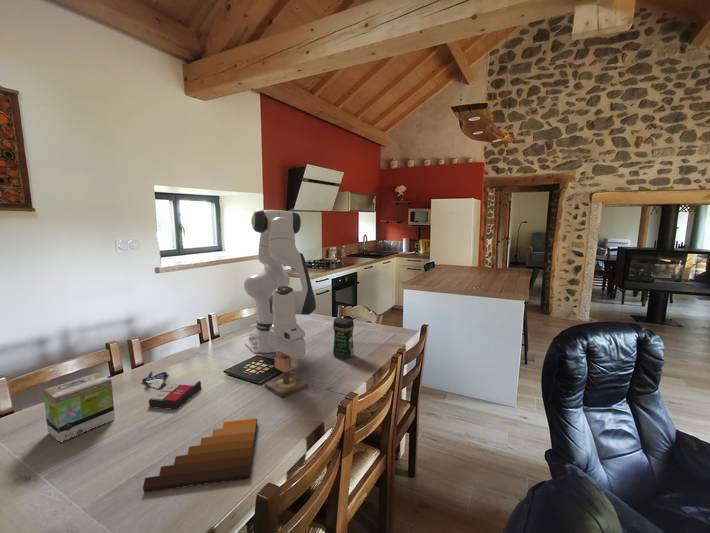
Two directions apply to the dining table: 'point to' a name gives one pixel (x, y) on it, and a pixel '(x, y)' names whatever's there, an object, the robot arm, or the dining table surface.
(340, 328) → the coffee jar
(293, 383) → the post stand
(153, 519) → the dining table surface
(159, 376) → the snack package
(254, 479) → the dining table surface
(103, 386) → the tea box
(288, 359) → the collar
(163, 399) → the black and red box
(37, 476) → the dining table surface
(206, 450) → the pan flute
